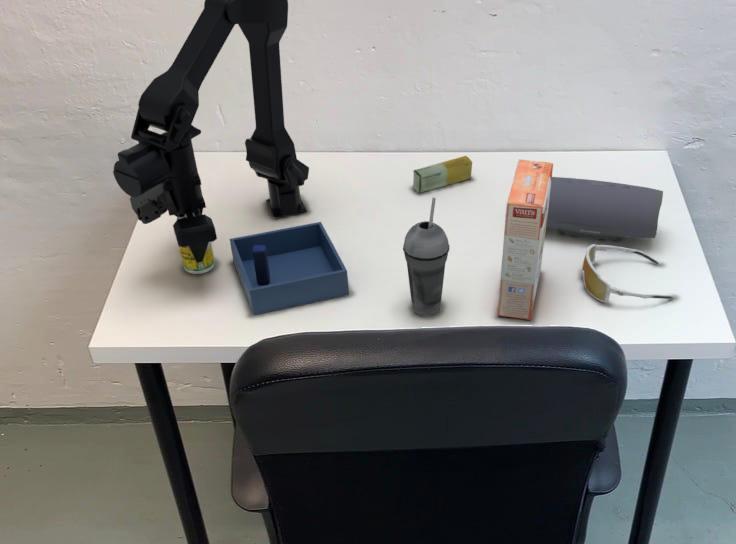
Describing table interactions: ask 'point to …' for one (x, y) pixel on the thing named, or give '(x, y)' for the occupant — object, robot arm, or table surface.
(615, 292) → the sunglasses
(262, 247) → the eraser
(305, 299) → the storage box
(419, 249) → the beverage cup
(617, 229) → the bluetooth speaker
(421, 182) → the medication box
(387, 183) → the table surface
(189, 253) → the supplement bottle
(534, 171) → the cracker box
